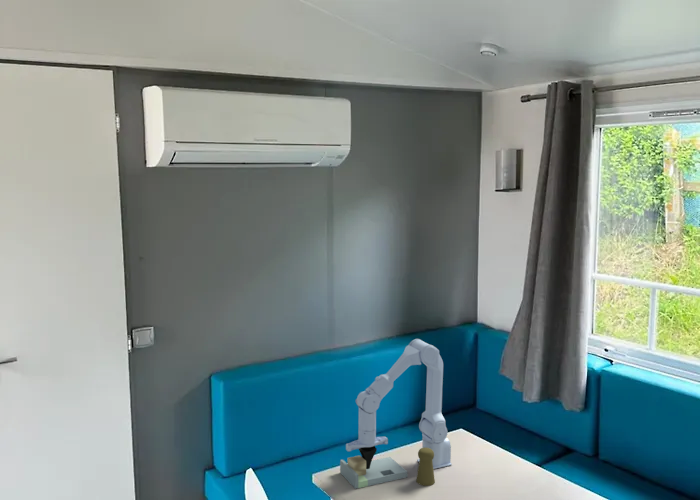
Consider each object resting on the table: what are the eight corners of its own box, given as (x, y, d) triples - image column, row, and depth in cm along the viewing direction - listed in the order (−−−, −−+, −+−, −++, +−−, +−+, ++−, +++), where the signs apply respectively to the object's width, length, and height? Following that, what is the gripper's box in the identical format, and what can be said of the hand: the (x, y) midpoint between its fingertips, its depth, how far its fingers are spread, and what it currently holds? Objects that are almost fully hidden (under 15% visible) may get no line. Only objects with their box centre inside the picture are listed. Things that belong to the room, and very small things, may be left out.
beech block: (360, 468, 206) (360, 455, 206) (366, 474, 202) (366, 461, 201) (347, 471, 204) (347, 457, 204) (353, 477, 200) (353, 463, 199)
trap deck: (389, 462, 215) (390, 449, 215) (407, 477, 204) (407, 464, 204) (340, 472, 207) (340, 460, 207) (355, 488, 196) (355, 475, 196)
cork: (434, 486, 198) (434, 454, 197) (415, 484, 199) (415, 452, 198) (435, 478, 204) (436, 446, 203) (417, 476, 205) (417, 444, 204)
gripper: (381, 420, 210) (380, 458, 211) (342, 427, 204) (342, 466, 205) (391, 428, 203) (390, 467, 205) (351, 435, 197) (351, 475, 199)
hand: (366, 467), depth 204 cm, fingers closed
